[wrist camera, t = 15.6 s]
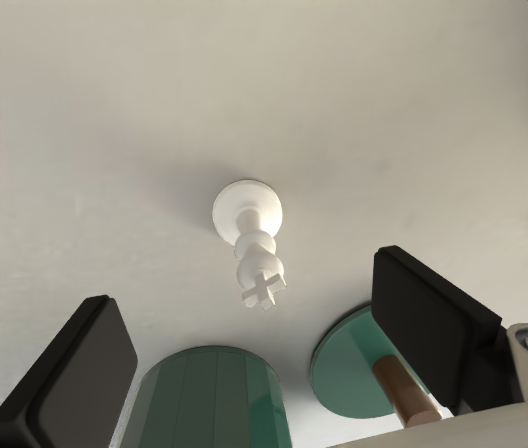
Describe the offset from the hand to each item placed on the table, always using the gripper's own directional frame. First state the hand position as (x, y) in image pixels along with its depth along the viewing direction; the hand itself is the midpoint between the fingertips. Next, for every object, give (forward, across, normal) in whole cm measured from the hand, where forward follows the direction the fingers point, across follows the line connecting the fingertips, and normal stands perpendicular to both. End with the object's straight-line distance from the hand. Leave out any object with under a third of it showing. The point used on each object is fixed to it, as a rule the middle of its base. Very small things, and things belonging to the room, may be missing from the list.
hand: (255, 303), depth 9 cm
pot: (+10, +5, +18) cm, 21 cm away
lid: (+9, -12, +16) cm, 22 cm away
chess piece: (+10, -1, 0) cm, 10 cm away
